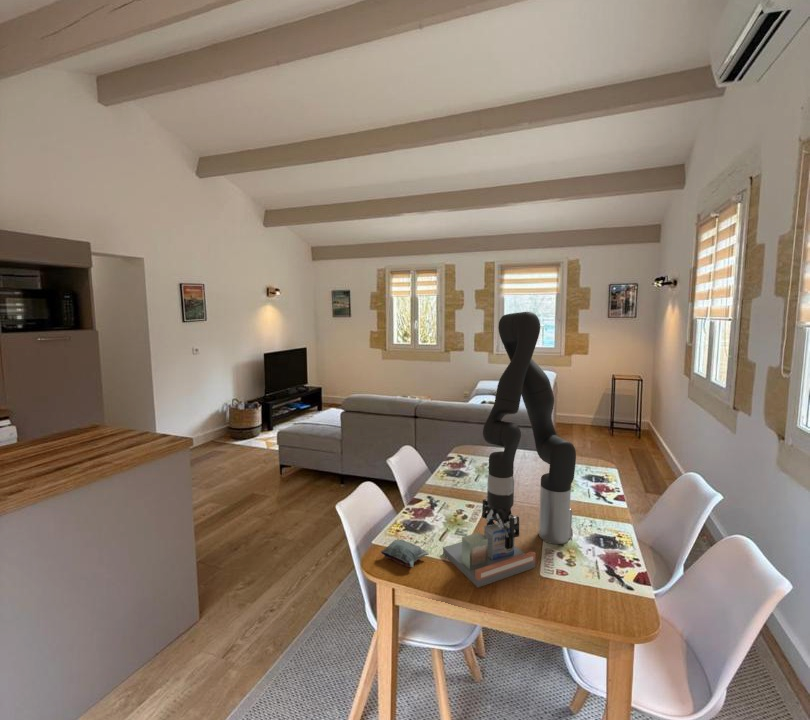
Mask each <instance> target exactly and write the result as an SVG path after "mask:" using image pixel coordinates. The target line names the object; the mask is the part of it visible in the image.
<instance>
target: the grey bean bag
mask: <svg viewBox="0 0 810 720" xmlns="http://www.w3.org/2000/svg"><path fill="white" fill-rule="evenodd" d="M380 553H381V554H382V555H383V556H384V557H385V558H386V559H390V560H392V561H394V562H396V563H398V564H400V565H402V566H405V567H408V568H410V567H411V568H414V564H415V562H417V561H418V560H420V559H422V558H423V557H425V556H426V557H427V556H428V555H430V553H429V552H427V550H425V549H423V548H421V546H419V545H416V544H413V543H412V542H409V541H406V540H404V539H399V537H398V538H396V539H394V540H393V541H392V542H390V543H389V544H388V546H387V547H386V548H384V549H383V550H381V551H380Z"/></svg>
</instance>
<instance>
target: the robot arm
mask: <svg viewBox="0 0 810 720" xmlns="http://www.w3.org/2000/svg"><path fill="white" fill-rule="evenodd" d="M497 328H498V335H499V337H500V341H501V342H502V345H503V347H504V349H505V352H506V354H507V357H508V358H509V361H510V362H509V364H508V366H507V367H506V368H505V370H504V371H503V373H502V374H501V376H500V378H499V381H498V383H497V387H496V392H495V397H494V402H493V406H492V408H491V410H490V412H489V415H488V416H487V419H486V420H485V423H484V425H483V428H482V435H483V437H482V438H483V440H484V441H485V442H486V443H487V444H491V445H495V446H500V447H504V449H503V451H501V450H500V451H493V452H492V453H490V454H489V456H488V475H487V476H488V477H487V487H486V489H487V493H486V494H487V495H486V496H487V497H486V498H485V499H482V506H481V507H482V511H481V517H482V518H483V519H485V522H486V526H488V525H492V524H495V522H497V523H499V524H500V525H501V528H502V529H503V530H504V532H505V535H506V536H505V548H506V549H510V548H512V547H513V538H519V537H520V517H519V515H513V513H512V507H513V506H514V500H515V497H514V496H515V479H514V471H515V470H514V469H515V467H514V463H515V456H516V453H517V450H518V447H519V444H520V442H521V437H522V431H521V429H520V426H519V425H518V424H517V423H514V422H509V421H505V420H502V419H503V418H504V417H505V416H507V415H515V414H517V413H518V411H519V409H520V403H521V399H522V401H523V404H524V407H525V409H526V413H527V416H528V419H529V422H530V425H531V428H532V433H533V434H532V435H533V440H534V446H535V449H536V452H537V455H538V457H539V458H540V459H541V460H542V461H543V462H545V464H548V465H549V469H548V473H547V472H546V473H544V474H542V475H541V477H540V486H539V487H540V489H539V490H540V491H539V521H538V522H539V524H538V529H539V531H538V535H539V536H538V537H539V538H540V539H541V540H543V541H544V542H546V543H548V544H553V545H562V544H566V543H567V542H569V540H570V539H571V538H572V528H573V527H572V526H573V525H572V524H573V523H572V522H573V521H572V519H573V509H572V508H571V497H572V496H571V493H572V483H573V481H574V479H575V475H576V473H575V472H576V461H577V452H576V451H577V450H576V448H575V445H574V444H573V443H572V442H571V441H569V440H566V439H564V438H562V437H560V436H559V435H558V433H557V432H556V428H555V426H554V423H553V418H552V417H553V416H552V415H553V410H554V406H555V396H554V391H553V387H552V385H551V381H550V378H549V376H548V375H547V374H546V372H545V371H544V370H543V369H542V368H541V366H539V364H537V362H536V361H535V360H534V359H533V358H532V357H533V354H534V352H535V349H536V346H537V343H538V340H539V338H540V333H541V322H540V319H539V317H538V315H537V314H536V313H534V312H532V311H522V312H521V311H520V312H513V313H506V314H504V315H502V316H501V317H500V319H499V320H498V327H497ZM494 521H495V522H494ZM507 522H508V523H509V525H504V524H505V523H507ZM507 528H509V529H510V532H508V529H507ZM514 530H515V532H514Z"/></svg>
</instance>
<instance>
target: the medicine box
mask: <svg viewBox="0 0 810 720" xmlns="http://www.w3.org/2000/svg"><path fill="white" fill-rule="evenodd" d="M504 525H509V523H508V522H507V523H505V524H504ZM483 529H484V532H483V533H484V534H483V535H484V536H485V537H486V538H488V556H489V557H490V558H491V559H492V560H495V559H499V558H502V557H505V556H509V555H512V554H514V546H515V538H516V537H515V538H513V547H512V548H510V549H506V548H505V536H506V535H505V532H504V530H503V529H502V528H501V525H500V524H499V523H498V522H497V523H494V524H492V525H488V526H487V525H485V526H484V528H483ZM507 529H508V532H510V529H509V528H507ZM514 532H515V530H514Z"/></svg>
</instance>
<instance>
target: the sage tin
mask: <svg viewBox="0 0 810 720" xmlns="http://www.w3.org/2000/svg"><path fill="white" fill-rule="evenodd" d="M461 542H462V564H463V565H464V566H465V567H466V568H467V569H468V570H469V571H471V570H475V569H478V568H481V567H484V566H487V563H488V538H486V537H485V536H484V534H483V533H481V532H480V531H478V532H475V533H471V534H467V535H465V536H461Z"/></svg>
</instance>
